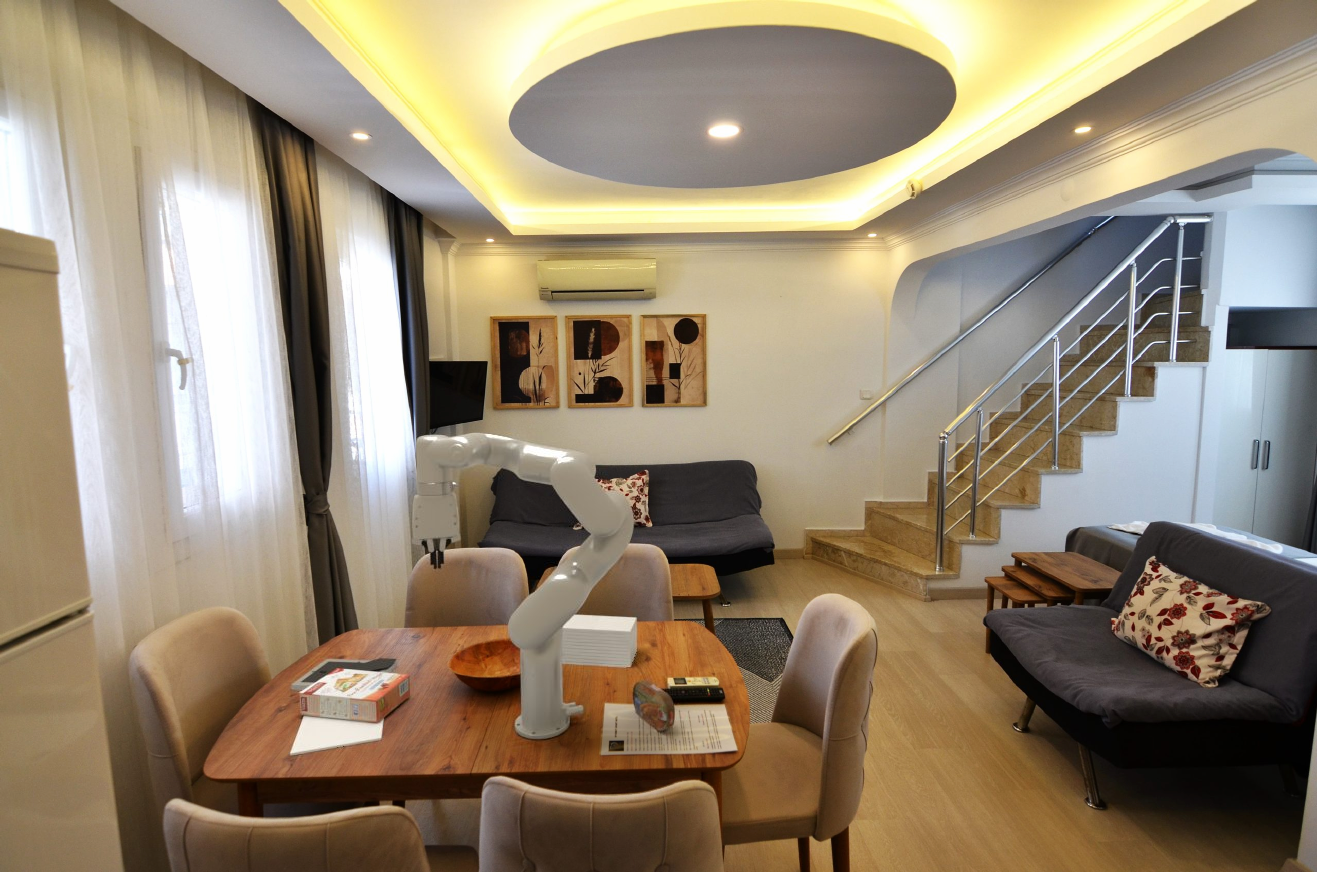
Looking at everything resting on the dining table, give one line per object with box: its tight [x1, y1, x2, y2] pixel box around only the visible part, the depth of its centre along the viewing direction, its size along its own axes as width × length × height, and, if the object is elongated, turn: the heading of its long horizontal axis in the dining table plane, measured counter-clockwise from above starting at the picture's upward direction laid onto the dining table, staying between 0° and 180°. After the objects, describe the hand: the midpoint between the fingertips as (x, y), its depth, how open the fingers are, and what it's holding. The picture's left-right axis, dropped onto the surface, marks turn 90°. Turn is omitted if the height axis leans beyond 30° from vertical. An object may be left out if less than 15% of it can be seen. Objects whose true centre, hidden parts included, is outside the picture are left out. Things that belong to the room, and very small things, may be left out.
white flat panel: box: [289, 715, 385, 757], centre depth 152 cm, size 18×22×1 cm
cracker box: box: [298, 668, 411, 722], centre depth 159 cm, size 14×6×21 cm
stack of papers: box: [562, 614, 638, 668], centre depth 188 cm, size 32×11×11 cm, turn 82°
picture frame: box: [290, 657, 398, 691], centre depth 175 cm, size 16×3×21 cm
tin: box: [632, 680, 676, 732], centre depth 152 cm, size 15×3×8 cm, turn 33°
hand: (437, 567), depth 149 cm, fingers closed
